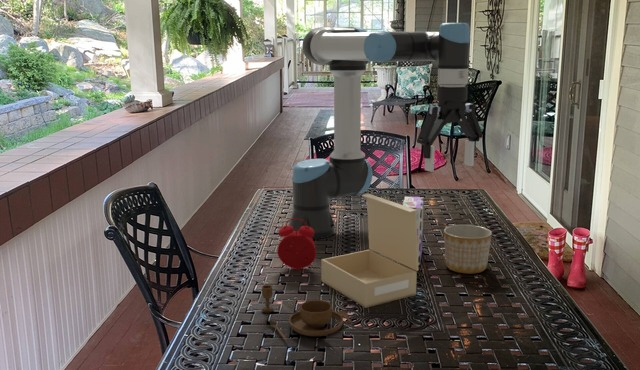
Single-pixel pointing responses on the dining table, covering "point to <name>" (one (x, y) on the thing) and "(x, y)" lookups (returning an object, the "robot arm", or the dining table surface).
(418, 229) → the candy box
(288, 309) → the dining table surface
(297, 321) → the place setting
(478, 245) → the planter
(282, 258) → the alarm clock
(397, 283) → the box
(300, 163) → the robot arm
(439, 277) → the dining table surface
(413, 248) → the lid
